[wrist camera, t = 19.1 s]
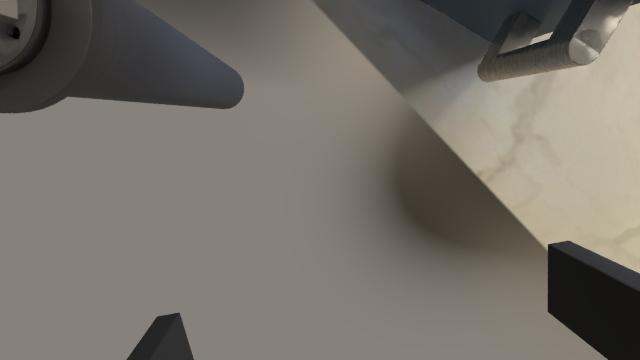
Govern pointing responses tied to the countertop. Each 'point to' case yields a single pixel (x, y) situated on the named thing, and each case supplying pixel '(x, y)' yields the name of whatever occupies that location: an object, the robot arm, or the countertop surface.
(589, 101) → the countertop surface
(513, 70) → the freezer door
